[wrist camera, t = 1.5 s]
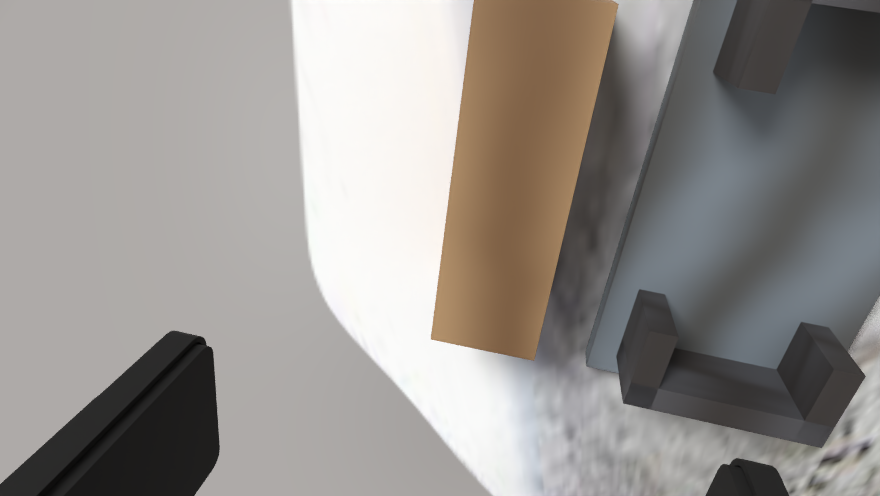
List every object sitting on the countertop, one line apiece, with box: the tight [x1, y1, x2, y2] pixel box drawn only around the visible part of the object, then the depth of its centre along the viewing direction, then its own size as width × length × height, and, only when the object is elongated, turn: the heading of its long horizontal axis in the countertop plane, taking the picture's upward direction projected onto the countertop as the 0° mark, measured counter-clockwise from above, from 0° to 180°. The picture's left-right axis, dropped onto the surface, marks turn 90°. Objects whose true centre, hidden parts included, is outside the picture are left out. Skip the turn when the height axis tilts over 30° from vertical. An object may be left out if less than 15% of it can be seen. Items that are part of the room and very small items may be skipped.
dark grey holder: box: [586, 0, 880, 448], centre depth 23 cm, size 11×20×5 cm, turn 173°
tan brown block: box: [431, 0, 618, 361], centre depth 24 cm, size 4×14×6 cm, turn 173°
